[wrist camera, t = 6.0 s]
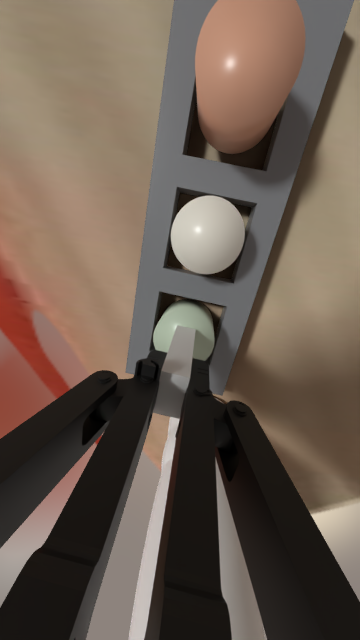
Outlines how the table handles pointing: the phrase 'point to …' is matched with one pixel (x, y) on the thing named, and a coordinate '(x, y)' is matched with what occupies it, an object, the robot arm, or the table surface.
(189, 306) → the button sage
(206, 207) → the button ivory
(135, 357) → the panel
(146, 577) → the water bottle
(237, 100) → the button terracotta
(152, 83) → the table surface
